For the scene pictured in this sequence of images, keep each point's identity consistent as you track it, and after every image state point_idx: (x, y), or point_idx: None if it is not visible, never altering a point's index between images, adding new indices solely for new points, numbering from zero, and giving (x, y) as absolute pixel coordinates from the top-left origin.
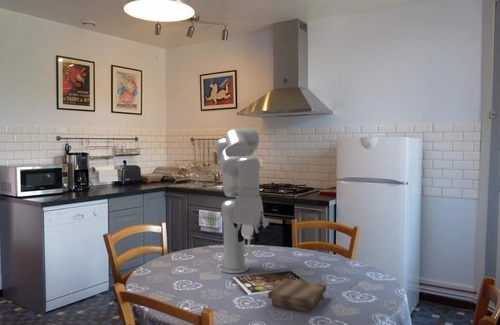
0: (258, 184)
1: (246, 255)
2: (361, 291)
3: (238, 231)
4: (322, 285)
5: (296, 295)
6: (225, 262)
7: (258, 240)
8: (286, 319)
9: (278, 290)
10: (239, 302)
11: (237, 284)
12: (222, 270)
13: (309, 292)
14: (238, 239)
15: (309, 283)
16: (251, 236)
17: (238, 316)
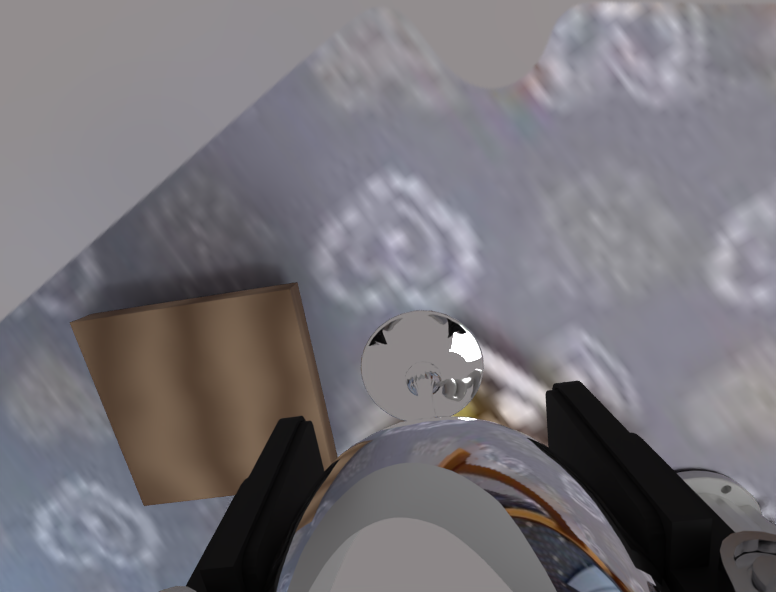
0: None
1: (417, 323)
2: (112, 571)
3: (702, 514)
4: (151, 494)
5: (161, 333)
6: (747, 522)
7: (242, 483)
8: (158, 198)
9: (266, 339)
10: (429, 224)
11: None
12: (724, 477)
13: (141, 397)
14: (592, 396)
15: (210, 486)
16: (319, 479)
17: (336, 91)
